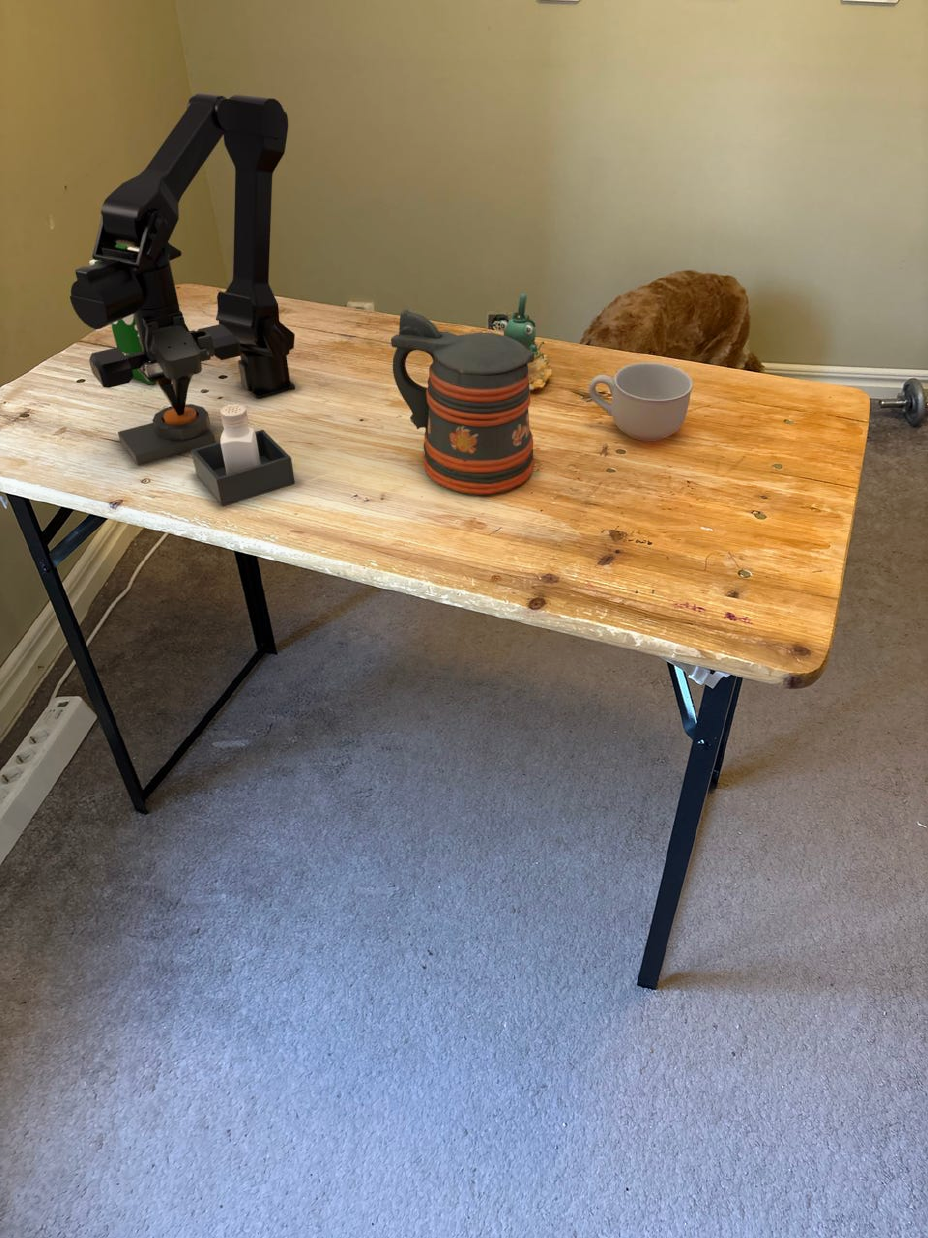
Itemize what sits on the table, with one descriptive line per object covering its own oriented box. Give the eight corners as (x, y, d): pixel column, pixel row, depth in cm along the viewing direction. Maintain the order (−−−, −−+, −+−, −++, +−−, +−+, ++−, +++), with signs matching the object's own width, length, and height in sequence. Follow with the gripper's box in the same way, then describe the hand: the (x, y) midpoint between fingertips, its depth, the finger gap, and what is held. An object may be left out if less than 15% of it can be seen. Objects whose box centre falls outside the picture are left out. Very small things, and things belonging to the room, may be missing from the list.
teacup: (693, 422, 130) (702, 369, 125) (673, 456, 123) (682, 401, 118) (600, 404, 135) (605, 352, 130) (576, 436, 127) (580, 383, 122)
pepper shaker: (227, 484, 117) (214, 417, 111) (231, 469, 120) (219, 402, 114) (259, 483, 117) (247, 416, 111) (262, 467, 120) (251, 401, 114)
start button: (192, 415, 129) (189, 403, 128) (203, 427, 126) (200, 415, 125) (161, 423, 127) (158, 411, 126) (172, 435, 124) (169, 424, 123)
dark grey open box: (267, 455, 124) (262, 429, 121) (295, 484, 118) (291, 457, 115) (196, 476, 120) (190, 449, 117) (222, 507, 114) (216, 479, 111)
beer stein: (377, 483, 118) (365, 334, 105) (412, 431, 129) (406, 290, 116) (519, 504, 114) (524, 351, 101) (543, 448, 125) (551, 304, 112)
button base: (200, 421, 132) (195, 398, 130) (220, 443, 127) (215, 420, 124) (120, 442, 127) (114, 419, 125) (138, 466, 122) (131, 443, 120)
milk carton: (113, 376, 144) (78, 246, 131) (156, 356, 150) (127, 230, 137) (152, 389, 140) (120, 256, 127) (195, 368, 146) (168, 239, 133)
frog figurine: (577, 367, 145) (580, 277, 135) (516, 421, 135) (514, 329, 125) (527, 352, 149) (526, 264, 139) (464, 404, 139) (457, 313, 129)
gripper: (98, 338, 106) (130, 456, 116) (247, 305, 114) (266, 418, 124) (73, 309, 114) (105, 422, 123) (215, 280, 121) (235, 389, 131)
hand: (180, 413), depth 125 cm, fingers closed, pressing on start button
